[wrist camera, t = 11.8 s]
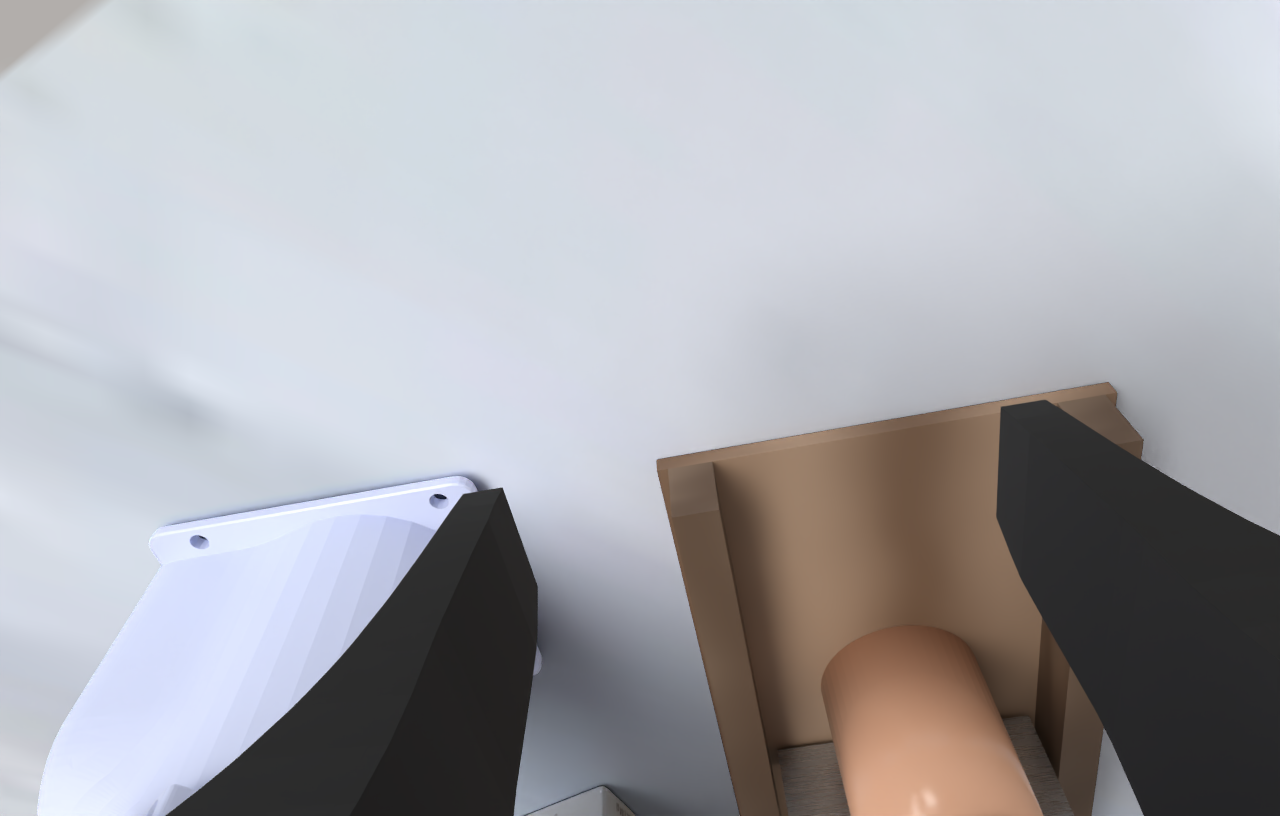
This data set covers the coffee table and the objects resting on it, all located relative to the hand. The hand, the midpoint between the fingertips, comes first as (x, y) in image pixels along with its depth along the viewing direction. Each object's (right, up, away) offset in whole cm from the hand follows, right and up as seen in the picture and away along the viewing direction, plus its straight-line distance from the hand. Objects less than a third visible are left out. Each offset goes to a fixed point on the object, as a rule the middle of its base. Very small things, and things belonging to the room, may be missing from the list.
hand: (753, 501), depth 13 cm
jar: (+7, -7, +16) cm, 19 cm away
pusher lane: (+7, -8, +17) cm, 20 cm away
